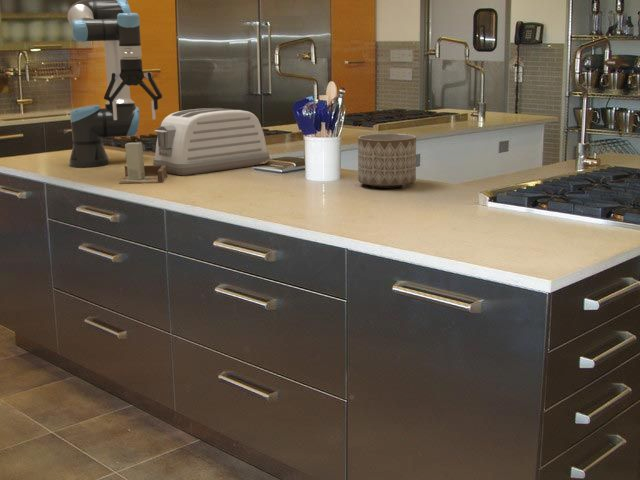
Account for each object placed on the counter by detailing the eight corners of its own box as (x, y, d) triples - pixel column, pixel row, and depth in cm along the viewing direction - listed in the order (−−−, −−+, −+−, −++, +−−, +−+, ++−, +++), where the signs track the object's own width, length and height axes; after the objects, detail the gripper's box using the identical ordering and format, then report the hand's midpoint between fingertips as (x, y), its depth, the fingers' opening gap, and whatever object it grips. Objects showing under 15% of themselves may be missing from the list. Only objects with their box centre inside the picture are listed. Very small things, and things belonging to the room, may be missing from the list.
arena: (126, 176, 326) (125, 166, 326) (167, 175, 327) (166, 164, 326) (119, 183, 312) (118, 172, 311) (162, 182, 312) (161, 171, 312)
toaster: (144, 171, 340) (140, 112, 334) (239, 158, 368) (237, 104, 363) (176, 178, 323) (173, 116, 318) (273, 164, 351) (271, 107, 346)
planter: (348, 183, 304) (348, 135, 300) (398, 178, 312) (398, 131, 308) (374, 192, 287) (374, 141, 283) (426, 187, 294) (426, 137, 291)
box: (145, 177, 320) (143, 142, 317) (141, 179, 316) (138, 143, 313) (131, 177, 321) (129, 142, 318) (126, 179, 316) (124, 143, 313)
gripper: (92, 59, 306) (97, 121, 311) (165, 58, 307) (168, 119, 312) (96, 58, 313) (101, 118, 318) (168, 57, 314) (171, 117, 319)
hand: (134, 119), depth 315 cm, fingers open, 13 cm apart
